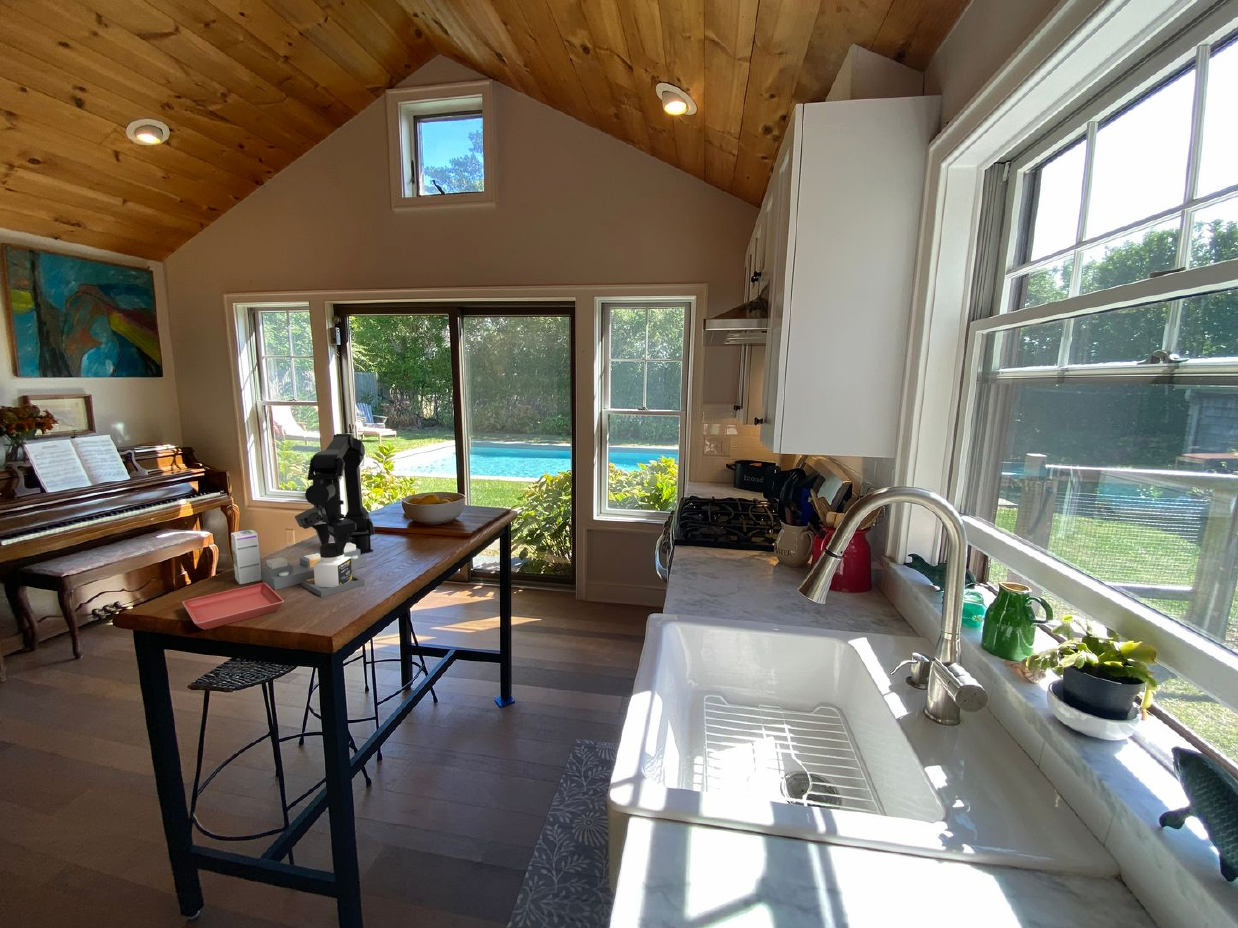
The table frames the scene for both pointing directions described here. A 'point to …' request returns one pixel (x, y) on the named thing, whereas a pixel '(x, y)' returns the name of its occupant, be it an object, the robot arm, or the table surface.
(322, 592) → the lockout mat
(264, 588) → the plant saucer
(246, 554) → the syrup box
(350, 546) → the breaker
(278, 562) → the breaker
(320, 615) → the table surface
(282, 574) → the grey slotted tray
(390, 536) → the table surface
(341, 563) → the medicine bottle
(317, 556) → the block
